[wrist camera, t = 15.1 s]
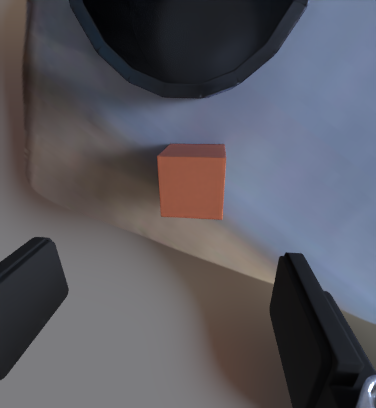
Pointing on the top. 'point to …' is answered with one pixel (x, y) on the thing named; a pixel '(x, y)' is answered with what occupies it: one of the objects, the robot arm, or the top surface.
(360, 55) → the top surface
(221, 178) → the block
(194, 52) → the pot
